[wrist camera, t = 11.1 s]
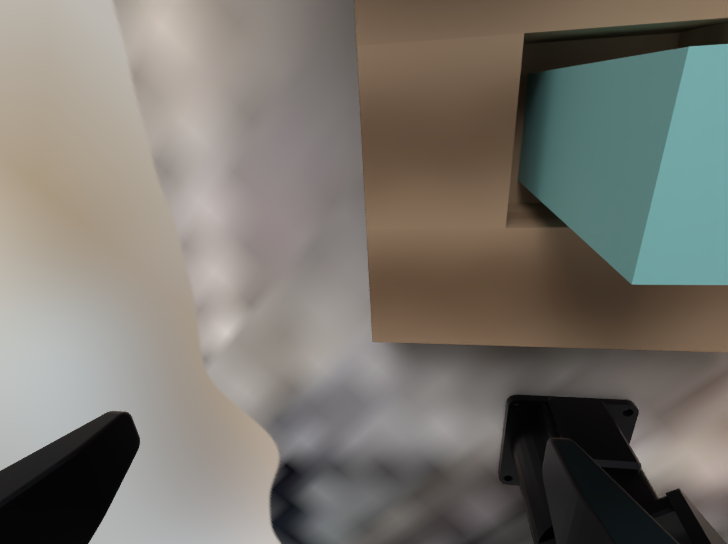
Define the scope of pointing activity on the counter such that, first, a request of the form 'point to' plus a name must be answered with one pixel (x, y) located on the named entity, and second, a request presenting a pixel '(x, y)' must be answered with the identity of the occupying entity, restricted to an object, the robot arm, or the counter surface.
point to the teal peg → (637, 160)
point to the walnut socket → (503, 177)
